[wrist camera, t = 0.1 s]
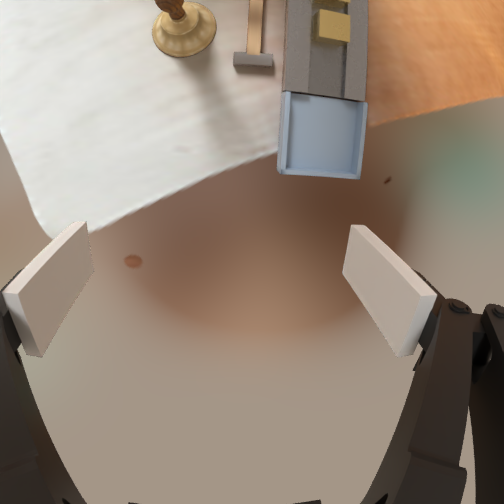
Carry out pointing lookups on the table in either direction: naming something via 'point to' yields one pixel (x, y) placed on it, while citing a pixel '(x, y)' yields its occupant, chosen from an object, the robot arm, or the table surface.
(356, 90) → the slot board
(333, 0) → the yellow square block
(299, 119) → the tray
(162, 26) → the hand bell
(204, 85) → the table surface
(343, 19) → the chip
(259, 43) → the hammer
